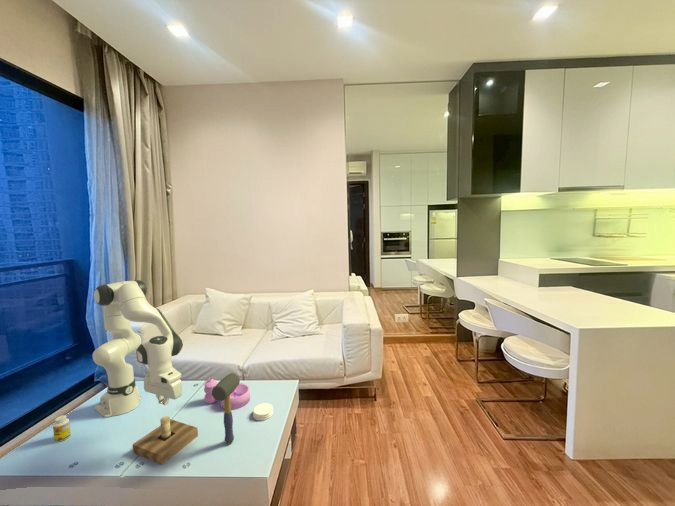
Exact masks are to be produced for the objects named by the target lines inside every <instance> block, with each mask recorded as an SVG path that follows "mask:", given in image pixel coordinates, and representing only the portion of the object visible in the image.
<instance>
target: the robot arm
mask: <svg viewBox="0 0 675 506" xmlns="http://www.w3.org/2000/svg"><path fill="white" fill-rule="evenodd" d="M147 292H148V290H147V285H146V282H144V281H143V280H139V279H138V280H137V279H135V280H126V281H125V280H123V281H118V282H111V283H108V284H106V283H105V284H101V285H98V286H96V287H95V289H94V292H93V298H94V301H95V304H98V306H102V307H103V313H102V314H103V325H104V326H103V327H104V330H105V331H106V332H108V333H111V334H112V339H111V340H110V341H107V342H105V343H103V344H101V345H100V346H98V347H97V348H96V349H95V350H94V351H93V352H92V360H93V362H94V364H96V365H97V366H100V367H103V368H104V369H105V371H106V375H107V381H108V384H107V385H106V388H107V391H106V392H105V393H104V394H103V395H101V396H100V398H99V403H98V404H97V405H96V406H95V407H94V410H95V411H97V413H99V415H101V416H102V417H103V418H111V417H113V416H114V417H115V416H118V415H119V416H120V415H123V414H127V413H128V412H131V411H133V410H135V409H136V408H137V407H139V405H140V401H141V400H142V396H140V392H139V388H138V387H139V386H138V385H136V382H137V381H136V378H134V377H135V376H134V375H135V374H134V366H133V365H132V364H131V363H128V362H126V359H125V358H126V356H128V355H130V354H131V353H134V352H136V361H137V362H138V363H140V364H143V365H149V368H148V370H147V371H146V372H145V373H144V374H145V375H144V379H143V389H144V392H145V393H146V392H147V393H148V394H149V393H150V394H154V395H155V396H156V398H157V401H158V404H160V405H163V406H167V405H169V399H171V400H174V401H175V400H177V399H178V398H180V397H182V395H183V385H182V384H183V383H182V380H181V378H182V373H181V372H180V371H179V370H177V369H176V368H175V367H173V362H172V357H174V356H177V355H179V353H180V352H181V351H182V349H183V345H184V344H183V340H182V339H181V337H180V336H179V335H178V334H177V332H176V331H175V329H173V327H172V326H171V324H170V322H169V321H168V320H167V318H166V317H165V316H164V313H162V311H161V310H160V309H159V308H156V307H154V306H152V305H151V304H150V303H149V301H148V300H147V297H146V296H147ZM131 322H133V323H146V324H152V325H155V326H156V327H157V329H158V330H159V333H161V335H156V336H153V337H151V338H150V339H149V340H148V341H146V342H143V343H142V338H141V336H140V335H139V334H138V333H136V332H135V331H134V330H133V328H132V325H131Z"/></svg>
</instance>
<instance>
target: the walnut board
mask: <svg viewBox="0 0 675 506" xmlns="http://www.w3.org/2000/svg"><path fill="white" fill-rule="evenodd" d="M170 429H171V437H170V438H169V439H167V440H166V441H162V437H161V436H162V435H161V425H159V426H158V427H156V428H155V429H153V430H151V431H150V432H149V433H147V434H145V435H144V436H143V437H141V438H140V439H138V440H136V441H135V442H133V444H132V453H133V454H135V455H137V456H139V457H141V458H145V459H147V460H148V461H149V460H150V461H151V462H154V463H156V464H159V465H164V464H165V463H166V462H168V460H169V461H170V459H171V458H173V457H174V456H175V455H176V454H177V453H179V452H180V451H181V450H182V449H184V448H185V447H186V446H188V445H189V444H190V443H191V442H192V441H193V440H195V439H196V438H197V437H198V436H199V431H198V427H196V426H193V425H190V424H187V423H184V422H181V421H178V420H175V419H172V418H170Z"/></svg>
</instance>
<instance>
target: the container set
mask: <svg viewBox="0 0 675 506" xmlns="http://www.w3.org/2000/svg"><path fill="white" fill-rule="evenodd" d="M217 384H218V380H216V379H213V377H208V379H207V381H205V382H204V384H203V385H204V388H203V391H204V393H205V395H204V398H203V399H204V401H205V403H207V404H208V403H209V404H210V403H212V404H214V402H215V403H216V402H218V401H217V400H215V399H214V398H213V396H212V390H213V388H214V387H215V386H216V385H217ZM250 394H251V393H250V386H249V385H248V384H246V383H239V385H238V386H237V388H236V389H235V390H234V391H233V392H232V393H231V394H230V405H231V411H233V410H240V409H241V408H244V407H246V405H248V404H249V402H250V400H251V397H250ZM220 407H221V408H222V410H225V407H224V400H223V401H220Z"/></svg>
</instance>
